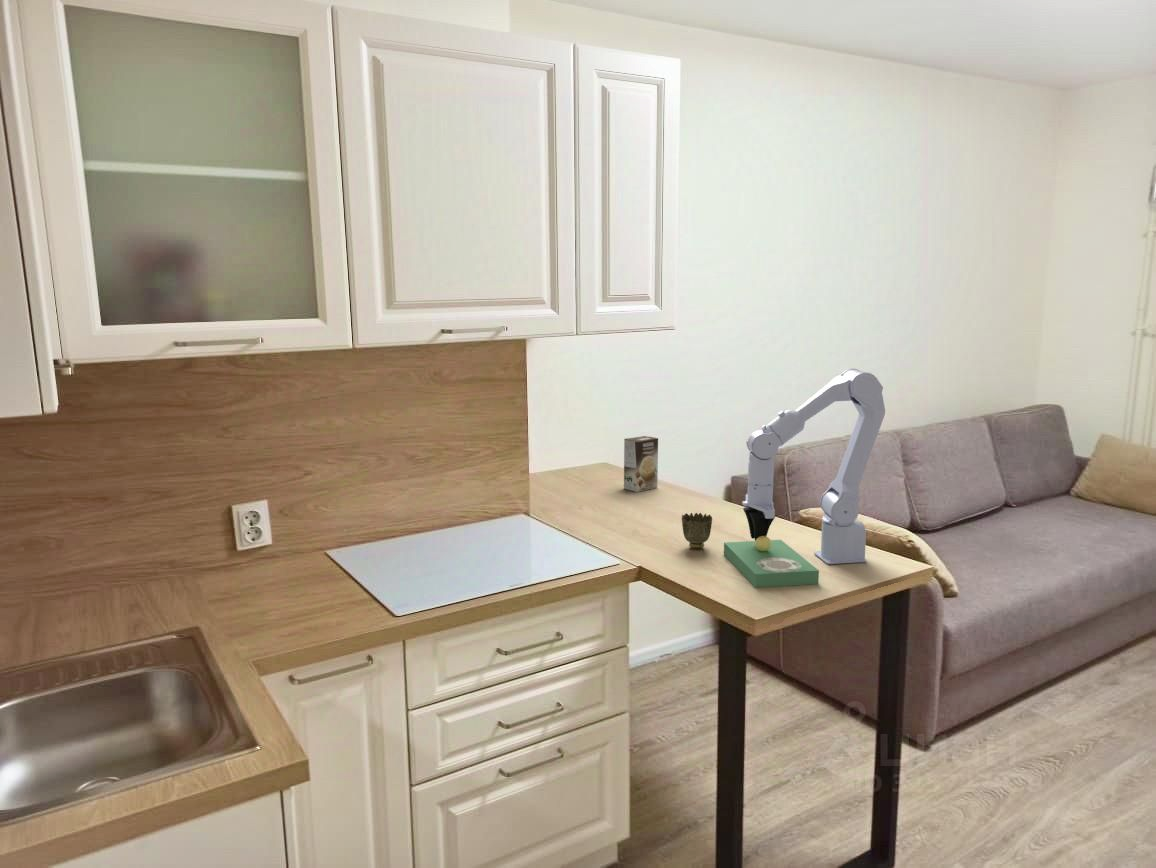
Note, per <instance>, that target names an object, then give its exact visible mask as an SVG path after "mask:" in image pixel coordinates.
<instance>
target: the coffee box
mask: <svg viewBox="0 0 1156 868" xmlns="http://www.w3.org/2000/svg"><path fill="white" fill-rule="evenodd" d="M623 445H624V447H623V455H624V456H623V489H625V490H628V491H631V492H632V491H633V492H635V493H638V492H644V491H647V490H653V489H657V488H658V480H659V479H658V477H659V476H658V473H659V472H658V471H659V470H658V469H659V467H658V466H659V438H658V437H652V436H648V435H647V436H646V435H643V436H634V437H627V438H624V444H623Z"/></svg>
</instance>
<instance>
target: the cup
mask: <svg viewBox="0 0 1156 868" xmlns="http://www.w3.org/2000/svg"><path fill="white" fill-rule="evenodd" d="M681 523H682V532H683V537H684V539H685V540H686V541H687V542H688V543H689V544H688V547H689V548H690V549H693V550H702V549H703V548H704V547H705V543H706V542H707V541H708V540H709V539H710V535H711V531H712V523H713V516H711V514H708V515H707V513H704V514H702V513H701V512H699V513H698V512H695V513H694V514H693V512H691V513H690V514H688V513H684V514H682V515H681Z"/></svg>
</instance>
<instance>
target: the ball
mask: <svg viewBox="0 0 1156 868" xmlns="http://www.w3.org/2000/svg"><path fill="white" fill-rule="evenodd" d="M771 540H772V539H770V537H768V536H760V537H758V538H757V539H756V542H755V545H756V548H757V549H758V550H759V551H762V552H765V551H768V550H769V549H770V548H771Z"/></svg>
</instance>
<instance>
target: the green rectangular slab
mask: <svg viewBox="0 0 1156 868" xmlns="http://www.w3.org/2000/svg"><path fill="white" fill-rule="evenodd" d="M770 540H771V548H770V549H769V550H768V551H765V552H762V551H759V550H758V549H757V548H756V545H755V540H750V541H748V540H747V541H728V542H723V555H724V557H725V558H727V559H728V561H730V563H731V564H732V565H733V566H734V567H735V568H736V569H737V570H738V571H739V572H740V574H741V575H743V576H744V577H745V578H746V580H747V581H749V583H750V584H751V585H752V586H753V587H754V589H755V588H756V589H757V588H758V589H759V588H771V587H772V588H773V587H774V588H775V587H788V586H803V585H804V586H805V585H819V582H820V581H819V579H820V577H819V576H820V570H819V569H818V568H817V567H815V566H814V565H813V564H812V563H810V562H809V561H808V560H807V559H806V558H804V557H803V556H801V554H800V553H798V552H797V551H795V550H794V549H793V548H792V547H791V546H790V545H788V544H787V543H786V542H784V541H783V539H770Z"/></svg>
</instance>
